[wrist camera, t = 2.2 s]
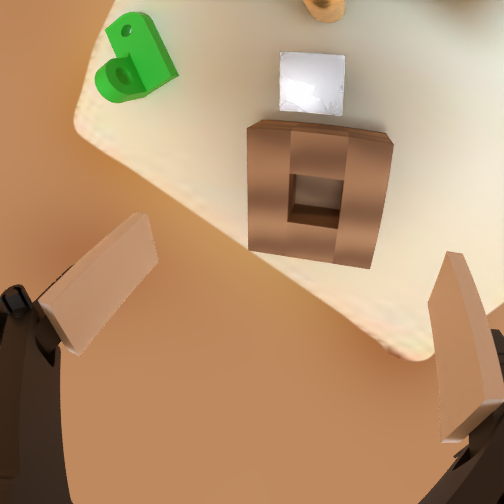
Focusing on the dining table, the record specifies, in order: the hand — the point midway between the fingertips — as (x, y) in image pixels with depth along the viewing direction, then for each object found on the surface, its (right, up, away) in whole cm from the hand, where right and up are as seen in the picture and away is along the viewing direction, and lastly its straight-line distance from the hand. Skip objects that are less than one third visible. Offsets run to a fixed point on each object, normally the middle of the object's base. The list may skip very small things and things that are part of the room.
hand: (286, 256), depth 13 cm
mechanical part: (-15, +26, +19) cm, 36 cm away
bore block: (+7, +8, +22) cm, 25 cm away
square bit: (+7, +18, +16) cm, 25 cm away
